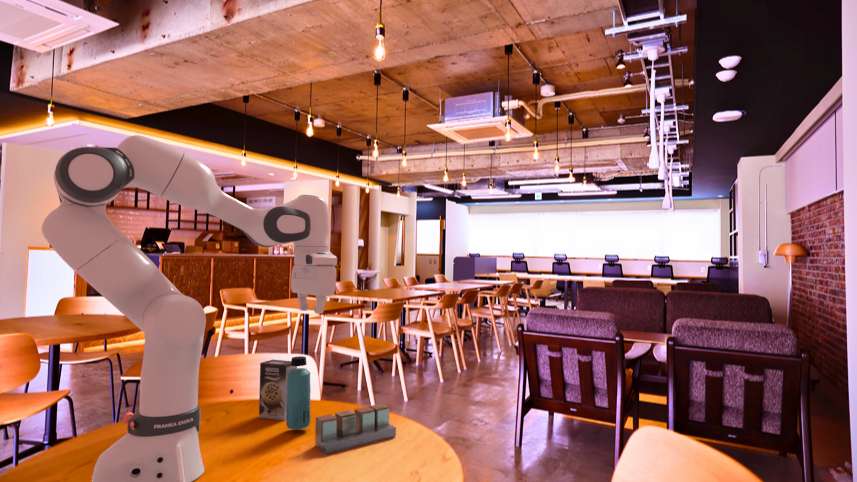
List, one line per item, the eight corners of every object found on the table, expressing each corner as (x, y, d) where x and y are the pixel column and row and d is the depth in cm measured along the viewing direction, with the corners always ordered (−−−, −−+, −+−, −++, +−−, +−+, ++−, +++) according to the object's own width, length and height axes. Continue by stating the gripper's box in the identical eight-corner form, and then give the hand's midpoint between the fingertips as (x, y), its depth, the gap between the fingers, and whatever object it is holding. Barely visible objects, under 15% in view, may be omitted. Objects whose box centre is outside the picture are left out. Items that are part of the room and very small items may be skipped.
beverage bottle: (303, 436, 125) (305, 359, 126) (280, 434, 127) (282, 358, 128) (314, 427, 132) (315, 355, 133) (292, 426, 133) (293, 354, 134)
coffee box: (257, 418, 140) (258, 362, 141) (271, 411, 146) (271, 358, 147) (284, 421, 138) (285, 364, 138) (296, 414, 144) (297, 360, 145)
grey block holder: (325, 454, 113) (325, 424, 114) (313, 445, 119) (313, 417, 119) (395, 436, 125) (395, 409, 126) (381, 429, 131) (382, 403, 131)
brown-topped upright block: (342, 445, 119) (342, 416, 120) (334, 440, 123) (335, 412, 123) (356, 441, 122) (356, 413, 122) (348, 437, 125) (349, 410, 125)
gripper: (285, 258, 129) (284, 309, 129) (316, 257, 113) (315, 316, 112) (307, 258, 133) (306, 308, 133) (340, 257, 117) (340, 314, 116)
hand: (311, 312), depth 122 cm, fingers open, 8 cm apart
